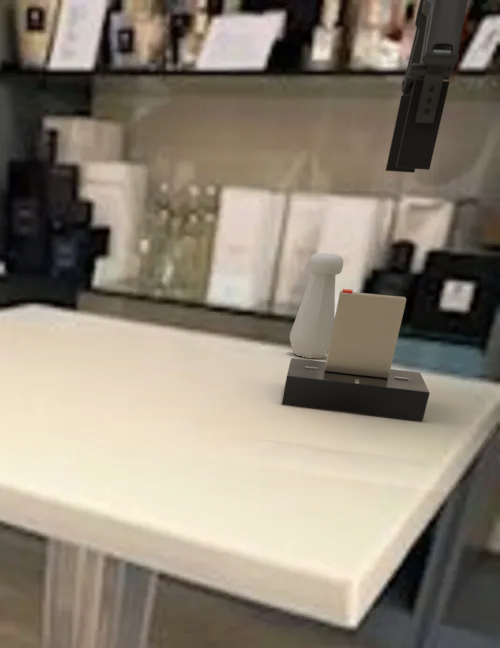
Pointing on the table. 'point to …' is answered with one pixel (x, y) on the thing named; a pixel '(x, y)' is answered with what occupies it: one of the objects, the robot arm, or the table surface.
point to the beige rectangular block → (364, 334)
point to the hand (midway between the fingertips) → (405, 170)
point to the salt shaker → (317, 308)
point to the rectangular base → (356, 391)
